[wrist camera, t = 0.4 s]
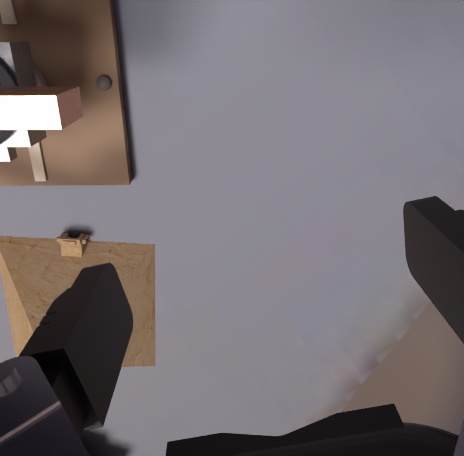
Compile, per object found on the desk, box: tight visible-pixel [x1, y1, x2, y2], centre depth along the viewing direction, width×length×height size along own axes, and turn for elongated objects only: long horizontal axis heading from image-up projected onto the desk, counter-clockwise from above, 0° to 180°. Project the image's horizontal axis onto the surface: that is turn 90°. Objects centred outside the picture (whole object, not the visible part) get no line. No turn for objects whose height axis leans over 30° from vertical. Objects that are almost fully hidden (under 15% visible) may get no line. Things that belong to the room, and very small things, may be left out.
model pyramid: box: [0, 233, 155, 367], centre depth 42 cm, size 17×17×10 cm
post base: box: [0, 0, 132, 186], centre depth 33 cm, size 18×16×9 cm
